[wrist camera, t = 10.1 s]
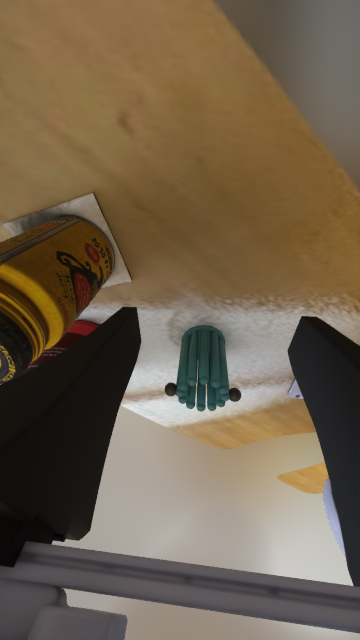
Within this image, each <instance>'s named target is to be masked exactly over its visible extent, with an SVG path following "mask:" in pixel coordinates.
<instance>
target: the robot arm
mask: <svg viewBox="0 0 360 640" xmlns="http://www.w3.org/2000/svg"><path fill="white" fill-rule="evenodd" d="M140 345H141V335H140V328H139V321H138V313H137V307H122V308H121V309H120V310H118V311H117V312H116V313H115V314H113V315H112V316H111V317H110V318H108V319H107V320H106V321H105V322H103V323H102V324H101V325H100V326H98V327H97V328H96V329H94V330H93V331H92V332H91V333H89V334H88V335H86V336H85V337H83V338H82V339H81V340H79V341H78V342H76V343H75V344H74V345H72V346H71V347H69V348H68V349H66V350H65V351H63V352H61V353H60V354H58V355H56V356H55V357H53V358H51V359H50V360H48V361H46V362H44V363H43V364H41V365H39V366H37V367H35V368H33V369H31V370H29V371H27V372H25V373H23V374H21V375H19V376H18V377H16V378H14V379H11V380H9V381H7V382H5V383H3V384H1V385H0V640H124V638H125V632H126V626H127V617H126V615H122V614H116V613H110V612H105V611H99V610H93V609H86V608H78V607H70V606H68V604H67V601H66V600H67V599H66V598H67V597H66V593H65V591H64V589H62V588H66V589H73V590H79V591H86V592H93V593H99V594H105V595H112V596H118V597H125V598H131V599H138V600H144V601H151V602H157V603H164V604H171V605H177V606H184V607H190V608H197V609H203V610H210V611H217V612H224V613H230V614H236V615H243V616H250V617H256V618H262V619H269V620H276V621H283V622H289V623H295V624H302V625H309V626H315V627H322V628H329V629H335V630H341V631H348V632H354V633H360V346H359V345H357V344H356V343H354V342H353V341H352V340H350V339H349V338H347V337H346V336H344V335H343V334H342V333H340V332H339V331H337V330H336V329H335V328H333V327H332V326H330V325H329V324H327V323H326V322H324V321H323V320H321V319H319V318H318V317H308V316H301V319H300V321H299V324H298V326H297V329H296V331H295V334H294V336H293V339H292V341H291V343H290V346H289V348H288V355H289V359H290V364H291V367H292V371H293V374H294V376H295V381H294V383H293V385H292V387H291V389H290V391H289V393H288V394H289V397H290V398H297V399H304V401H305V403H306V406H307V408H308V411H309V413H310V416H311V418H312V421H313V423H314V426H315V429H316V432H317V435H318V439H319V442H320V445H321V449H322V453H323V456H324V460H325V464H326V467H327V471H328V475H329V478H328V479H326V481H325V484H324V491H323V500H324V505H325V510H326V513H327V517H328V520H329V523H330V526H331V528H332V531H333V533H334V535H335V538H336V540H337V542H338V544H339V546H340V548H341V550H342V552H343V553H344V555H345V557H346V560H347V566H348V571H349V574H350V577H351V579H352V582H353V585H354V586H348V585H341V584H334V583H327V582H319V581H312V580H305V579H298V578H290V577H283V576H276V575H268V574H261V573H254V572H247V571H239V570H232V569H225V568H218V567H210V566H203V565H195V564H188V563H181V562H174V561H166V560H160V559H152V558H145V557H137V556H131V555H123V554H116V553H108V552H102V551H94V550H87V549H79V548H72V547H65V546H58V545H51V544H52V541H53V540H54V541H61V542H64V541H65V539H70V540H78V541H79V540H80V539H82V538H83V537H84V536H85V535H86V534H87V533H88V532H89V531H90V528H91V523H92V518H93V514H94V509H95V504H96V499H97V494H98V490H99V485H100V481H101V476H102V472H103V468H104V463H105V459H106V454H107V451H108V447H109V443H110V439H111V435H112V431H113V428H114V424H115V420H116V416H117V413H118V410H119V407H120V404H121V401H122V398H123V396H124V393H125V391H126V388H127V385H128V383H129V380H130V377H131V375H132V372H133V370H134V367H135V364H136V361H137V358H138V354H139V350H140Z"/></svg>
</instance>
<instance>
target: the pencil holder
mask: <svg viewBox="0 0 360 640" xmlns="http://www.w3.org/2000/svg"><path fill="white" fill-rule="evenodd" d="M197 368H198V382H197ZM196 383H197V410H198V411H204V410H205V400H206V384H207V407H208V409H209V410H210V411H214V410H215V409H216V404H217V406H219V407H223V406H224V405H225V401H227V400H229V399H230V400H231V401H234V402H236V401H239V400H240V398H241V392H240V391H239V390H238V389H237V388H231V389H230V390H229V381H228V371H227V361H226V351H225V339H224V337H223V335H222V334H221V332H220V331H218V330H217V329H215V328H213V327H209V326H197V327H193V328H191V329H189V330H188V331H187V332H186V333H185V334H184V336H183V338H182V345H181V353H180V361H179V368H178V376H177V384H174V383H168V384H167V385H166V386H165V393H166V394H167V395H169V396H173V395H175V394H176V395H177V396H178V397H179V398H178V400H179V402H180V403H182V404H184V403H186V406H187V408H189V409H192V408H194V406H195V394H196Z"/></svg>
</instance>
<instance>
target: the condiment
mask: <svg viewBox="0 0 360 640" xmlns="http://www.w3.org/2000/svg"><path fill="white" fill-rule="evenodd" d="M2 225H3V226H4V227H5V229H6V230H7V232H8V233H9V234H10V235H11V236H12V238H10V239H7V240H5V241H3V242H0V384H3V383H5V382H7V381H9V380H11V379H14V378H16V377H18V376H19V375H21V374H23V373H25V372H26V369H27V368H28V367H29V365H30V364H31V363H32V362H33V361H34V360H36V359H37V358H38V357H39V356H40V355H41V353H42V352H43V351H44V350H46V349H49V348H51V347H52V346H54V345H55V344H56V343H57V342H58V341H59V340H60V339H61V338H62V337H63V336H64V335H65V333H66V332H67V331H68V329H69V328H70V327H71V326H72V324H73V323H74V322H75V320H76V319H77V318H78V317H79V315H80V314H81V313H82V312H83V310H84V309H85V308H86V307H87V306H88V305H89V303H90V301H91V300H92V299H93V298H94V297H95V296H96V294H97V293H98V292H99V290H100V289H101V288H104V287H109V286H113V285H118V284H121V283H126V282H132V280H131V277H130V275H129V273H128V271H127V268H126V266H125V264H124V261H123V259H122V256H121V254H120V252H119V250H118V247H117V245H116V243H115V241H114V239H113V236H112V234H111V232H110V229H109V227H108V225H107V223H106V221H105V219H104V217H103V215H102V213H101V211H100V208H99V206H98V204H97V202H96V199H95V197H94V195H93V193H91V194H88V195H86V196H83V197H80V198H77V199H74V200H71V201H68V202H65V203H63V204H60V205H57V206H54V207H51V208H48V209H45V210H42V211H40V212H37V213H34V214H31V215H28V216H25V217H22V218H20V219H17V220H14V221H11V222H8V223H5V224H2Z"/></svg>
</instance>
